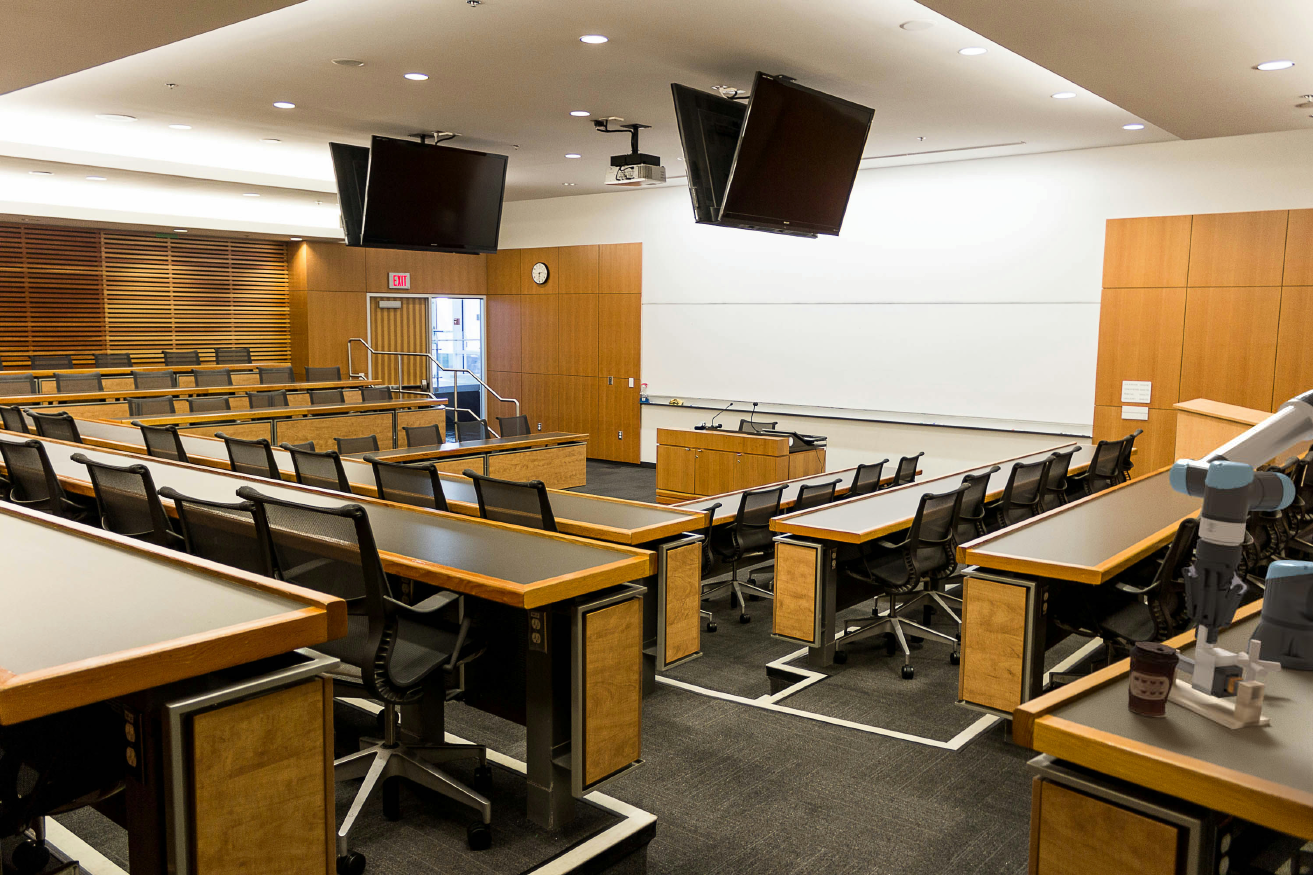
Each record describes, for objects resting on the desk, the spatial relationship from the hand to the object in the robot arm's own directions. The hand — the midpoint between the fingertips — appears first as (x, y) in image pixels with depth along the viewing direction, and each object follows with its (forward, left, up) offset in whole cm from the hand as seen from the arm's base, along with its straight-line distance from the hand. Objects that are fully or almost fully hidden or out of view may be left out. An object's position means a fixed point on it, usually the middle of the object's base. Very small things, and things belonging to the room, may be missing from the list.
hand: (1202, 657), depth 182 cm
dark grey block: (0, +6, -6) cm, 8 cm away
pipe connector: (-20, -4, -9) cm, 22 cm away
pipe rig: (0, +1, -9) cm, 9 cm away
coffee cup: (+15, +1, -10) cm, 18 cm away
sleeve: (0, +3, -6) cm, 6 cm away
